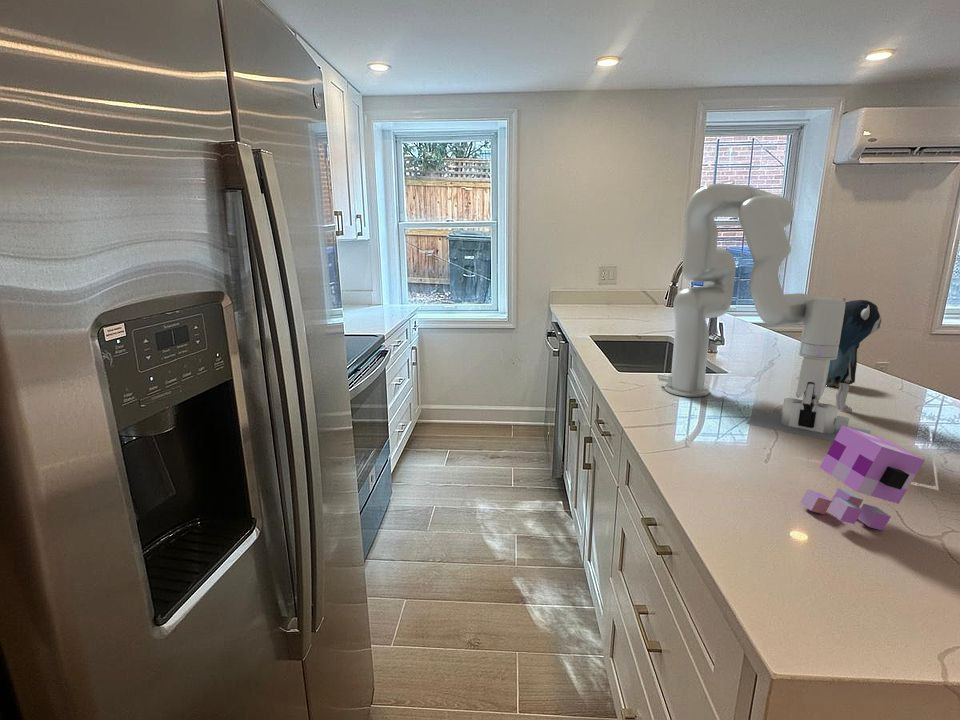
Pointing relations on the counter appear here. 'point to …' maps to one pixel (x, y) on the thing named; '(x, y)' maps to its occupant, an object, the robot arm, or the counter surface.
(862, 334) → the toy
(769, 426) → the mat
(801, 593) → the counter surface
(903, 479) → the toy
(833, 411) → the plug
